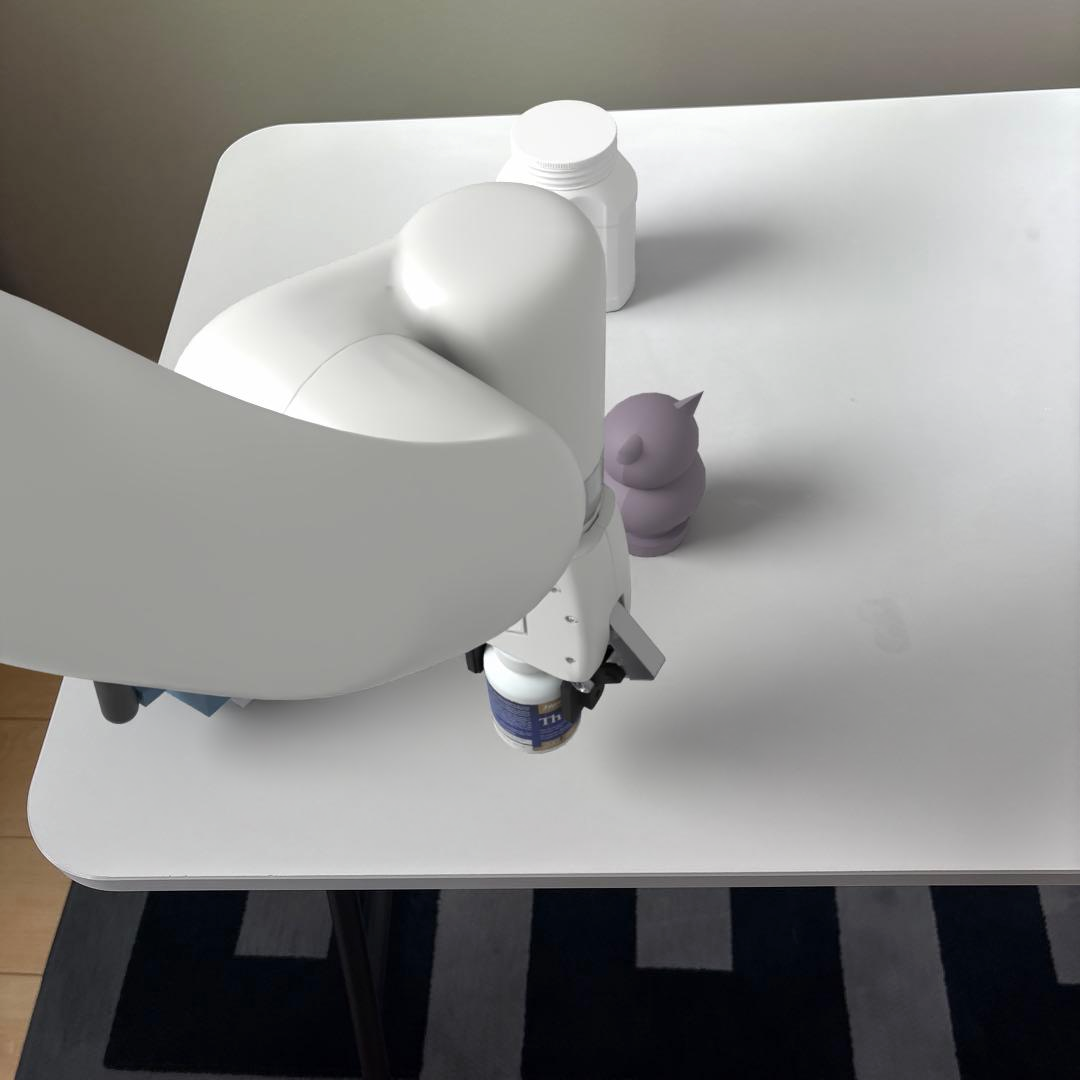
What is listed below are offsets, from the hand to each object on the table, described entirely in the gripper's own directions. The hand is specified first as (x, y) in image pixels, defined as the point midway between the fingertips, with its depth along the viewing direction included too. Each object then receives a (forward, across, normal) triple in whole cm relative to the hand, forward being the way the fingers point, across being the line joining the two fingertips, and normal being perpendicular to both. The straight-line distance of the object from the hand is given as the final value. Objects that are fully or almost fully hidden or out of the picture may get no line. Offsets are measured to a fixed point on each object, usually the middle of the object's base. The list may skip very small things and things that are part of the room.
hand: (534, 675), depth 60 cm
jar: (+10, -21, +40) cm, 46 cm away
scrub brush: (+4, -23, -3) cm, 23 cm away
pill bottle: (+5, 0, 0) cm, 5 cm away
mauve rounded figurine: (+10, -3, +20) cm, 23 cm away
